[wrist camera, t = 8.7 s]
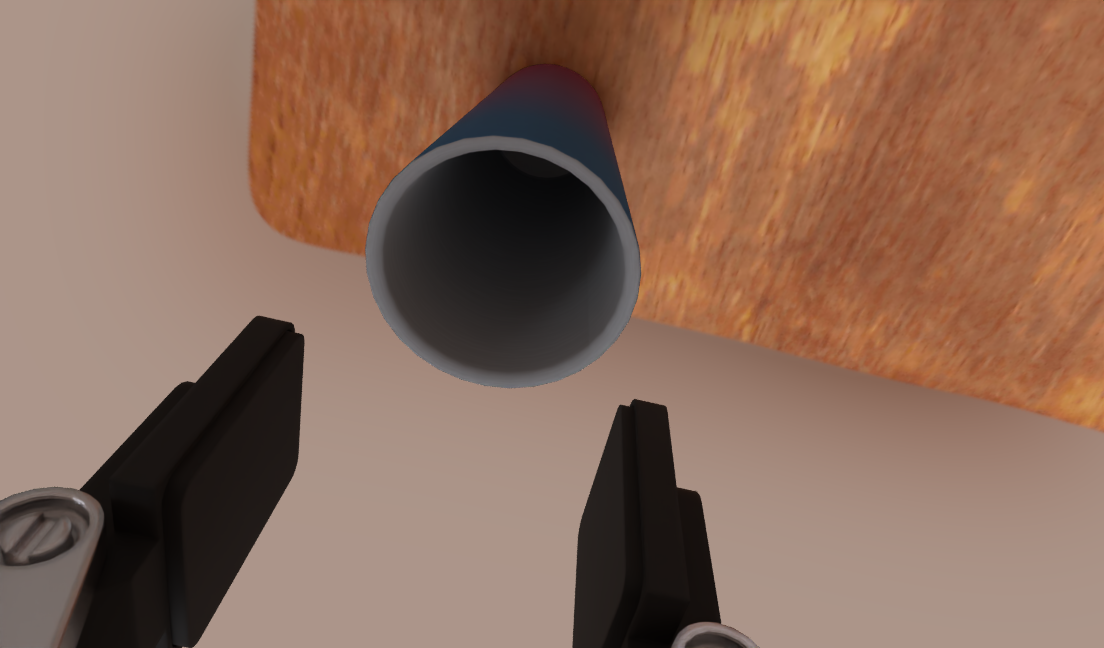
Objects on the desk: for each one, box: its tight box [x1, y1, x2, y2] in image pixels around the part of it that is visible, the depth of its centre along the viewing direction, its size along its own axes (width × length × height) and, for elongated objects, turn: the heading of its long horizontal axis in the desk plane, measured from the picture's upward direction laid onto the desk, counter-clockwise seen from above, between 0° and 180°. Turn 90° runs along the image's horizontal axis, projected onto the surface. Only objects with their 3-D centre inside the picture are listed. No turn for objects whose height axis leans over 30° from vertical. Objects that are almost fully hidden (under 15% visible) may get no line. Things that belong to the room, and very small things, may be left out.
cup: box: [365, 64, 641, 388], centre depth 24 cm, size 7×7×15 cm
